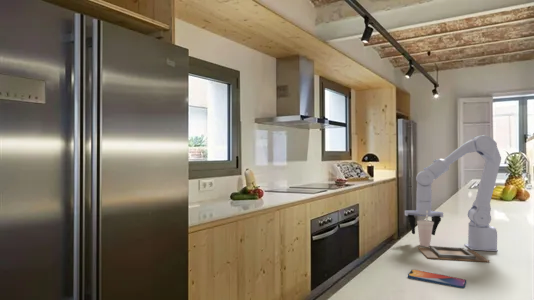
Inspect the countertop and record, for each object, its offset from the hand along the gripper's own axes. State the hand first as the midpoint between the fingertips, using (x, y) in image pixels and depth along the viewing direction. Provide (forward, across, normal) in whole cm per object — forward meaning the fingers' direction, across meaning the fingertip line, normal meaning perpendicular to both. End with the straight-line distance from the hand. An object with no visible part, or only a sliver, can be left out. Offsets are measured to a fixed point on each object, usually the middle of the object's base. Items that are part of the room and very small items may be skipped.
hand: (423, 234), depth 154 cm
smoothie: (+4, 0, +3) cm, 5 cm away
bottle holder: (+4, -6, +16) cm, 17 cm away
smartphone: (+4, +7, +45) cm, 46 cm away
